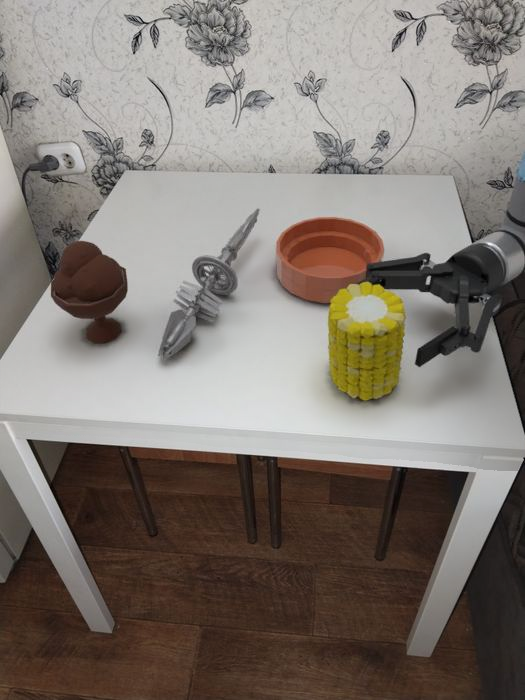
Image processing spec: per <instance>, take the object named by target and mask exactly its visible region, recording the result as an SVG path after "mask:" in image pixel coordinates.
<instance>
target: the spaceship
mask: <svg viewBox="0 0 525 700" xmlns="http://www.w3.org/2000/svg"><path fill="white" fill-rule="evenodd" d="M260 210H261V209H260V208H256V209H255V210H254V211H253V212H252V213H251V214H250V215H248V217H246V219H245V221H244V223H242V224H241V225H240V226H239V227H238V228H237V230H235V232H234V233H233V235H232V236H231V237H230V238H228V241H227V243H226V244H225V246H224V247H222V249H221V253H220V255H218V256H213V255H208V254H207V255H206V254H205V255H201V256H200V255H199V256H198V257H197V258H194V260H193V262H192V264H191V271H192V272H191V273H192V274H193V277H194V279H195V280H196V282H197V283H198V284H199V285H198V284H195V283H193V282H190V281H187V280H183V281H181V282H182V284H184V285H186V286H188V287H186V286H184V285H179V286H178V289H180V290H177V289H176V291H174V294H177V295H176V297H177V298H178V299H179V300H180V301H179V300H178V299H177V298H174V299H173V300H172V302H173V303H175V304H176V305H177V306H179V307H180V308H181V309H180V308H179V309H178V310H174V311H171V312H170V315H169V317H168V320H167V323H166V326H165V329H164V332H163V334H162V337H161V339H162V340H161V343H160V346H159V350H158V353H157V356H158V357H161V356H163V359H164V360H165V361H166V360H168V359H169V358H170V357H172V356H174V355H176V354H177V353H179V351H180V350H182V349H183V348H184V347H185V346H186V345H188V344H189V343H190V342H191V341H192V334H193V329H195V327H197V318H200V319H202V320H206V321H208V322H211V323H212V322H213V321H214V318H216V316H218V314H217V312H220V307H221V306H220V305H219V304H221V305H222V304H223V302H224V301H223V299H221V298H220V297H218V296H217V295H220V296H226V295H230V294H232V293H234V292H235V291H236V290H237V288H238V285H239V281H238V275H237V274H236V272H235V270H234V269H233V267H232V262H233V261H235V260H237V258H238V253H239V251H240V250H241V248H242V247H243V245H244V243H245V242H246V241H247V239H248V238H249V235H250V234H251V232H252V230H253V228H254V227H255V225H256V223H257V222H258V217H259V214H260ZM205 267H207V268H208V270H207V269H206V268H205ZM207 274H208V275H207ZM224 278H225V279H224ZM189 287H191V288H189ZM194 289H195V290H194ZM193 295H194V296H193ZM209 297H210V298H211V299H210V298H209ZM212 299H213V300H215V301H216V302H218V303H219V304H218V303H216V302H214V301H213V300H212ZM181 301H182V302H181ZM183 302H184V303H185V304H184V303H183ZM186 304H187V305H188V306H187V305H186ZM185 311H186V312H185ZM203 313H204V314H203ZM205 314H206V315H205ZM207 315H208V316H207ZM210 316H211V317H210ZM212 317H214V318H212Z"/></svg>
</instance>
